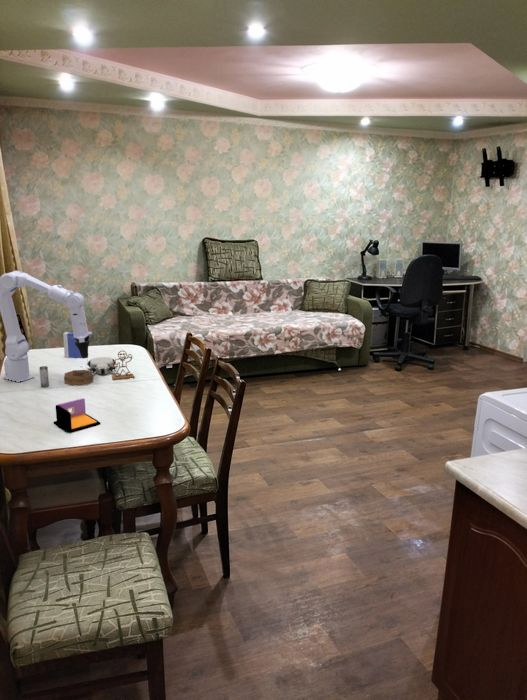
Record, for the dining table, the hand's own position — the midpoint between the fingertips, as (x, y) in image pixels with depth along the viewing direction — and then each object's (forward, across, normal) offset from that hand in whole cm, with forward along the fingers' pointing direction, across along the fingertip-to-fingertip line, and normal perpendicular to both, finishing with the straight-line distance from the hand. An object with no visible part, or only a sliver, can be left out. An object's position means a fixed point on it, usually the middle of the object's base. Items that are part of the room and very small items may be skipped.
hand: (85, 355), depth 222 cm
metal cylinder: (+9, -3, +17) cm, 20 cm away
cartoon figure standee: (+12, 0, -13) cm, 18 cm away
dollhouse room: (+12, -44, +5) cm, 46 cm away
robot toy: (+11, +12, -5) cm, 17 cm away
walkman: (+9, +36, +6) cm, 38 cm away
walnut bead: (+10, 0, +4) cm, 11 cm away
